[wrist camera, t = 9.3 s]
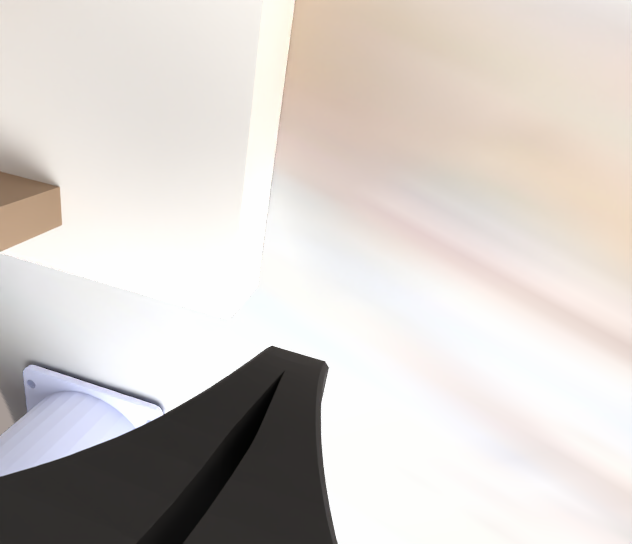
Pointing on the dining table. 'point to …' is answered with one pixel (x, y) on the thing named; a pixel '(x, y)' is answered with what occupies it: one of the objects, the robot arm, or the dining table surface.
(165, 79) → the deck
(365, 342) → the dining table surface
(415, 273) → the dining table surface
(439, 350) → the dining table surface
